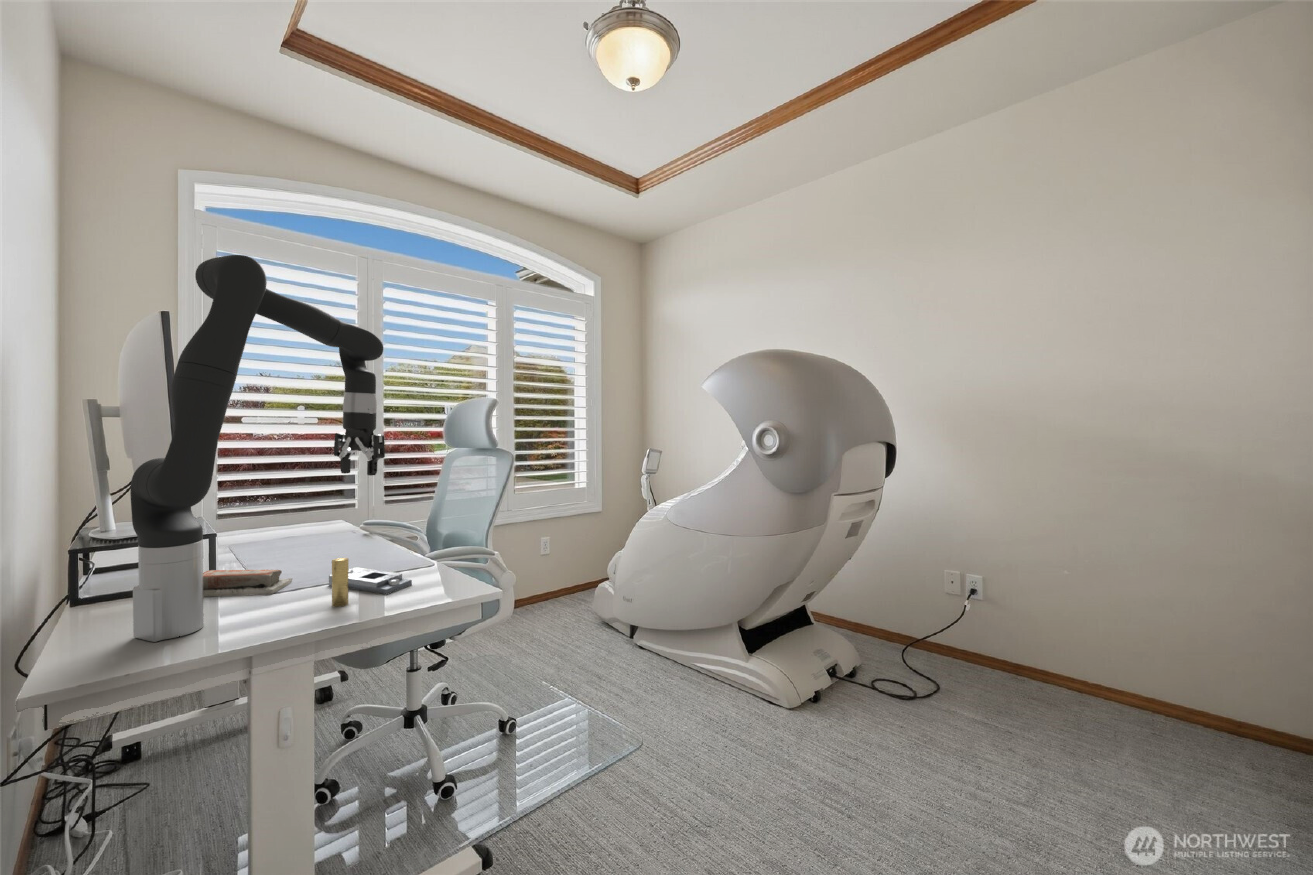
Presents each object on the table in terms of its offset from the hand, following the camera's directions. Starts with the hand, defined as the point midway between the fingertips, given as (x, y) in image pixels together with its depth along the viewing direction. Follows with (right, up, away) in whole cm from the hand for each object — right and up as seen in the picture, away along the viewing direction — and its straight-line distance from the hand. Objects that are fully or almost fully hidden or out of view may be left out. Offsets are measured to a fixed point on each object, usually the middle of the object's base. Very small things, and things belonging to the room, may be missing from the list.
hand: (358, 474), depth 140 cm
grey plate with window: (+7, -27, -5) cm, 28 cm away
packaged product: (-23, -27, -10) cm, 37 cm away
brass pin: (+6, -28, -19) cm, 34 cm away
